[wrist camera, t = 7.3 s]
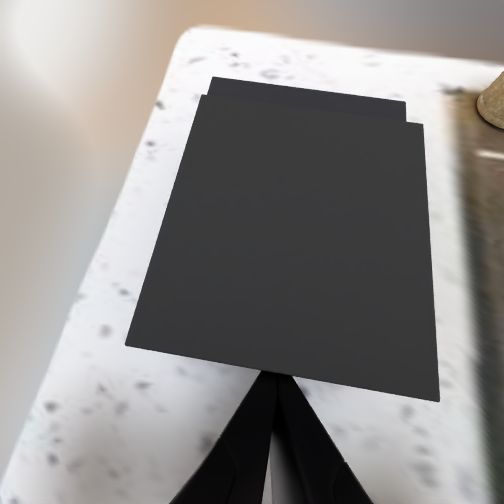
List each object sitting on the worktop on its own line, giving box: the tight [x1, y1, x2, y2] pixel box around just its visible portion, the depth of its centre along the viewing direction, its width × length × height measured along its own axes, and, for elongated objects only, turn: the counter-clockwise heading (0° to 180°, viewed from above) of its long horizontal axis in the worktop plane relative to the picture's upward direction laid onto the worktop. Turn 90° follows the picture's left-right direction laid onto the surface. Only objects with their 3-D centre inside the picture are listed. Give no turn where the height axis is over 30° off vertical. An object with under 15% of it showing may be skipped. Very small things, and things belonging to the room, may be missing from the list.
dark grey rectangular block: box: [207, 77, 406, 122], centre depth 18 cm, size 5×12×5 cm, turn 81°
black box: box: [125, 94, 440, 402], centre depth 14 cm, size 11×10×8 cm
